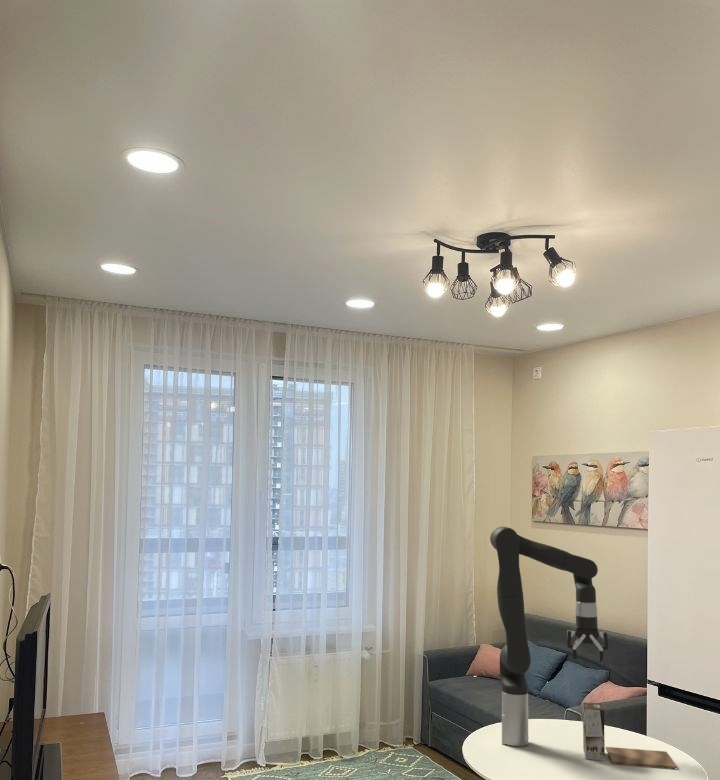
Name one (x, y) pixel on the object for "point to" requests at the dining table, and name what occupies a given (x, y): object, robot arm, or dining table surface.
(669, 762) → the walnut board
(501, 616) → the robot arm
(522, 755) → the dining table surface
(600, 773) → the dining table surface
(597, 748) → the coffee box
